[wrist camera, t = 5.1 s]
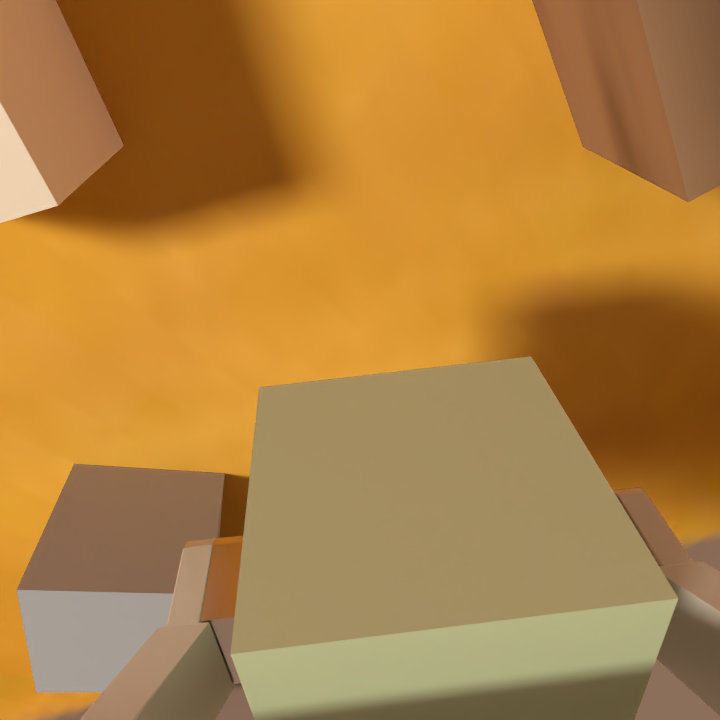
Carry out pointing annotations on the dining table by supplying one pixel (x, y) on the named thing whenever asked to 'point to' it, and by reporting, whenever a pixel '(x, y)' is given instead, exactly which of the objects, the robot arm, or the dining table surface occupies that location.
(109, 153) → the cube offwhite
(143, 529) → the cube slate
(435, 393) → the cube sage
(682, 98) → the cube walnut
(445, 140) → the dining table surface
